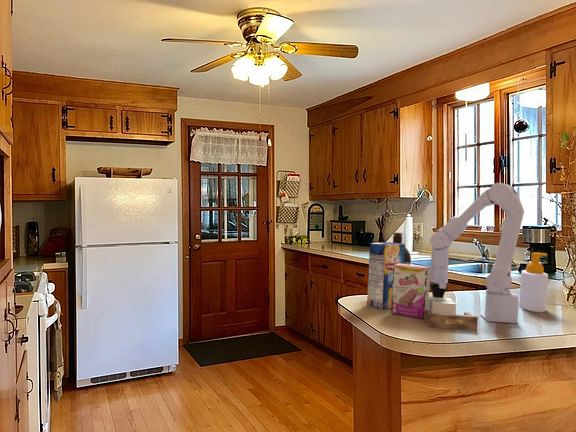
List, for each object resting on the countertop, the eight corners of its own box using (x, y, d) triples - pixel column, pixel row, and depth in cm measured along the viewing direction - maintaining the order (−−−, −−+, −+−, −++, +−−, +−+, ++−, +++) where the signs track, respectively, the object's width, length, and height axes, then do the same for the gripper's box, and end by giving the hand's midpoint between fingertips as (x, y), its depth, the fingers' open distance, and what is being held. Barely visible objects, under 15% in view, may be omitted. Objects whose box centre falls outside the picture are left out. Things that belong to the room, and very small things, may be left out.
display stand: (468, 322, 149) (469, 309, 149) (477, 330, 140) (478, 317, 140) (424, 319, 151) (425, 306, 151) (430, 327, 141) (431, 314, 141)
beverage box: (366, 305, 167) (369, 243, 166) (386, 301, 174) (389, 242, 173) (382, 309, 162) (385, 245, 161) (401, 305, 169) (405, 244, 168)
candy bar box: (390, 314, 156) (392, 264, 155) (395, 311, 160) (397, 262, 160) (424, 319, 150) (427, 268, 150) (428, 316, 155) (431, 266, 154)
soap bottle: (550, 313, 166) (554, 255, 165) (525, 311, 167) (529, 254, 166) (538, 305, 178) (542, 251, 178) (515, 303, 180) (518, 250, 179)
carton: (449, 311, 163) (449, 298, 163) (455, 317, 154) (456, 303, 154) (426, 309, 164) (427, 296, 164) (431, 316, 155) (432, 302, 155)
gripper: (424, 262, 172) (422, 300, 173) (431, 269, 158) (429, 309, 158) (444, 264, 171) (442, 301, 172) (453, 270, 157) (450, 310, 158)
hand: (437, 305), depth 165 cm, fingers closed
